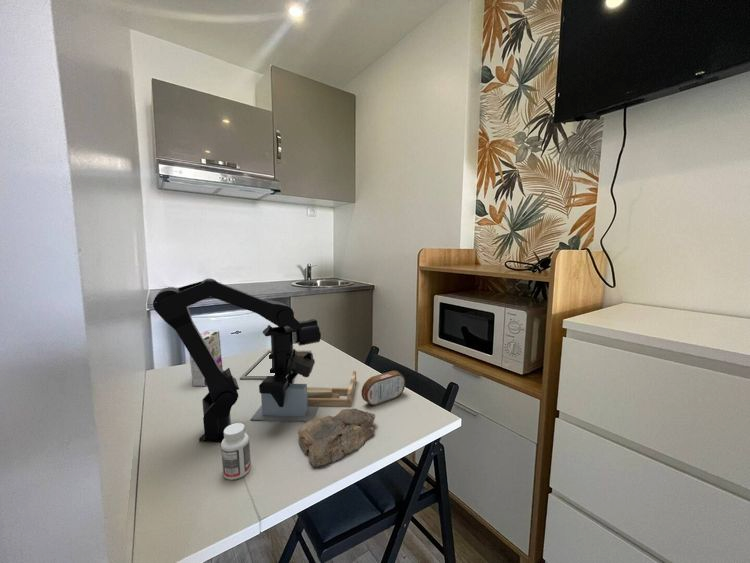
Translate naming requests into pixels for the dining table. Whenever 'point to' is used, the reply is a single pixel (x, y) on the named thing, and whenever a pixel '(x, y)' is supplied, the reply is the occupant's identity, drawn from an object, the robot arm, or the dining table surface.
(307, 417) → the mat
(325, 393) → the offcut upper
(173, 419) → the dining table surface
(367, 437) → the brown rock
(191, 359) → the candy bar box
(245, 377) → the grey picture frame
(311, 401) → the rack
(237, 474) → the pill bottle
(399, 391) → the tin
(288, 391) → the light blue block
